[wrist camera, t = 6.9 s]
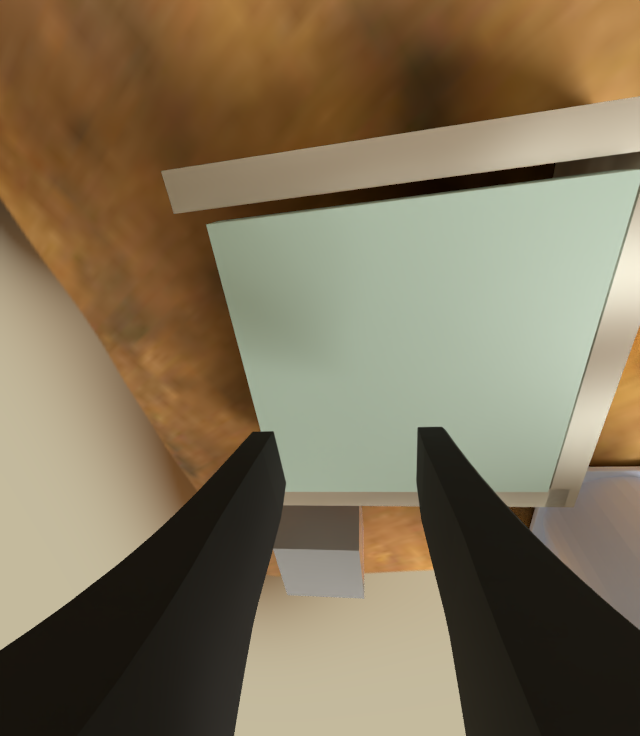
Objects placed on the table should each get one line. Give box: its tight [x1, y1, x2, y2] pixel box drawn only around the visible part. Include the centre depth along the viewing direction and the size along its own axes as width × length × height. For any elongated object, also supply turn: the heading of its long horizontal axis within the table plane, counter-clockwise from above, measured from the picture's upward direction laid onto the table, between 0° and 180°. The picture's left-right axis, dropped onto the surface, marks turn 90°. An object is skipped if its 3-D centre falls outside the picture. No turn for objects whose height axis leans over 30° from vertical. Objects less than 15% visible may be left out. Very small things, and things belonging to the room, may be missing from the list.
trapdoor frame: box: [161, 96, 640, 507], centre depth 15 cm, size 15×15×5 cm
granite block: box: [273, 505, 364, 598], centre depth 23 cm, size 5×5×5 cm
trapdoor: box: [206, 169, 640, 492], centre depth 13 cm, size 12×12×1 cm
